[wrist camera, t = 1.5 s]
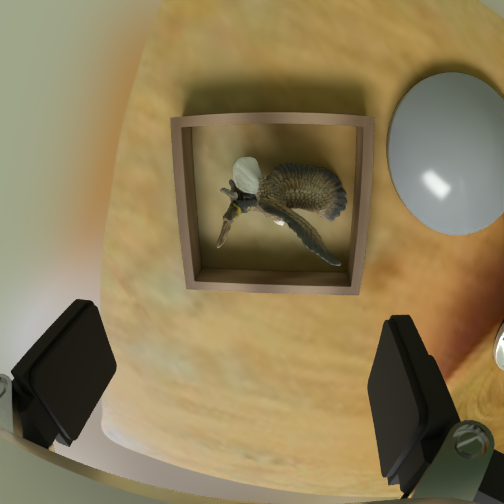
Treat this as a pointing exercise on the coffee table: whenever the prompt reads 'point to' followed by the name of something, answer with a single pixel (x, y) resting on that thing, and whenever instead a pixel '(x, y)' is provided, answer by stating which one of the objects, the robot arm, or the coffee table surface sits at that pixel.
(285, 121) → the walnut frame
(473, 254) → the coffee table surface
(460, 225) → the grey round plate
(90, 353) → the robot arm
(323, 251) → the eagle figurine
